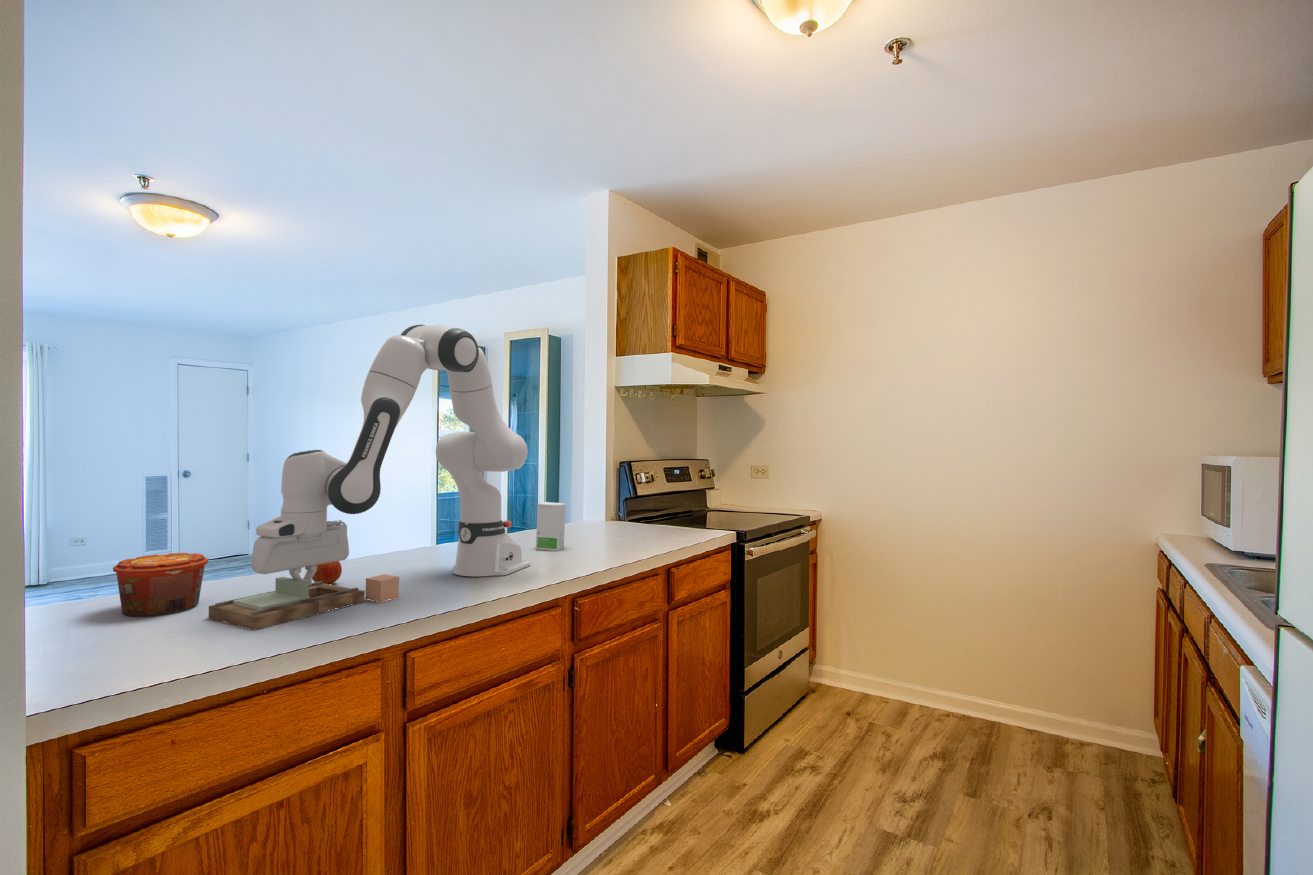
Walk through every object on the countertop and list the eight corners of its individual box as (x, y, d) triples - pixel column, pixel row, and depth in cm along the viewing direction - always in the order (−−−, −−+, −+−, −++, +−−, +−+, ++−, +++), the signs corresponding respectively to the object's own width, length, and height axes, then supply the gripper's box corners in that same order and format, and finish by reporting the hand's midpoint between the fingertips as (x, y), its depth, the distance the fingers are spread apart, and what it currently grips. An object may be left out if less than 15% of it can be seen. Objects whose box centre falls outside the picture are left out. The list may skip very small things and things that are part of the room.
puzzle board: (319, 592, 148) (319, 579, 148) (364, 601, 141) (364, 588, 141) (208, 618, 127) (208, 602, 127) (255, 630, 120) (255, 614, 120)
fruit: (339, 580, 161) (340, 549, 161) (343, 586, 155) (343, 554, 155) (309, 583, 157) (309, 552, 157) (311, 589, 152) (311, 556, 152)
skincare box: (535, 550, 208) (535, 503, 208) (542, 546, 215) (542, 501, 215) (559, 551, 207) (559, 504, 207) (565, 547, 214) (566, 502, 214)
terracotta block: (384, 595, 148) (384, 574, 148) (398, 598, 145) (399, 576, 145) (365, 600, 143) (365, 578, 143) (380, 603, 141) (380, 580, 141)
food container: (178, 596, 144) (179, 549, 144) (224, 604, 138) (224, 555, 138) (94, 613, 129) (95, 562, 129) (141, 623, 123) (142, 569, 123)
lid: (281, 593, 137) (281, 576, 137) (310, 599, 133) (310, 581, 133) (233, 604, 128) (233, 585, 128) (262, 610, 124) (262, 591, 124)
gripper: (337, 518, 147) (336, 576, 147) (247, 528, 129) (246, 595, 129) (355, 520, 144) (354, 579, 144) (266, 530, 126) (264, 599, 126)
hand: (302, 587), depth 136 cm, fingers closed
